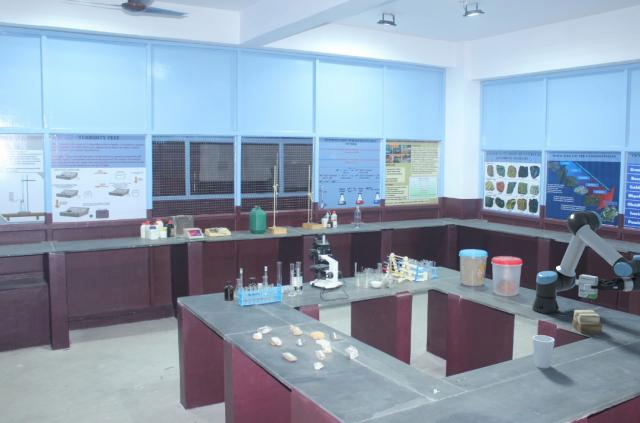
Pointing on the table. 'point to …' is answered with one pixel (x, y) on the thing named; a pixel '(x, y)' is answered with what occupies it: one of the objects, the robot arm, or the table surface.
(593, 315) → the top block
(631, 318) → the table surface
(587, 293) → the ink box
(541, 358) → the foam cup
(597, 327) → the bottom block
